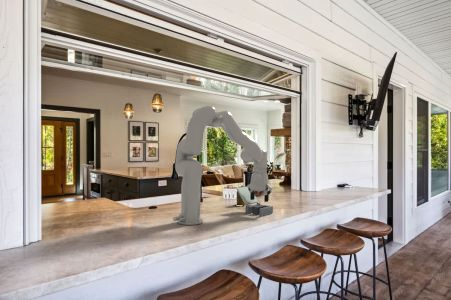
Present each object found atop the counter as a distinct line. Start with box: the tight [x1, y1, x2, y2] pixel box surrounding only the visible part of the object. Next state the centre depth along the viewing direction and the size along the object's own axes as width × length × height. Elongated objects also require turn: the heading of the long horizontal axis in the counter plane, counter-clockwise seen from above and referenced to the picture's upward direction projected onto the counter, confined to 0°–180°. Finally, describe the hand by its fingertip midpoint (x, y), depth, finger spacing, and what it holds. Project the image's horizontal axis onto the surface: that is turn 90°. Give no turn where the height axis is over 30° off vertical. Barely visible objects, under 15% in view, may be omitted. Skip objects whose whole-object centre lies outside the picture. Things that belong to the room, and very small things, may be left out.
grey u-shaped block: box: [245, 202, 274, 218], centre depth 170 cm, size 12×11×5 cm
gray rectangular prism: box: [252, 204, 266, 216], centre depth 170 cm, size 8×3×5 cm, turn 134°
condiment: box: [236, 186, 245, 205], centre depth 196 cm, size 7×8×12 cm
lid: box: [236, 186, 259, 205], centre depth 175 cm, size 12×11×1 cm
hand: (259, 200), depth 169 cm, fingers open, 9 cm apart
